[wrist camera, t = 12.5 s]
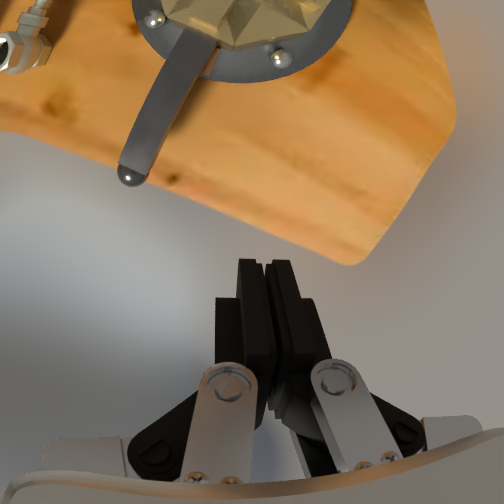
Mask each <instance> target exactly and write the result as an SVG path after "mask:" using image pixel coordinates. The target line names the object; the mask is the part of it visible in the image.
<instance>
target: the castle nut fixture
mask: <svg viewBox="0 0 504 504" xmlns="http://www.w3.org/2000/svg"><path fill="white" fill-rule="evenodd" d="M330 1H331V0H161V3H162V6H163V9H164V12H165V15H166V17H167V18H168V19H169V20H170V21H171V22H172V23H173V24H174V25H175V26H176V27H177V28H178V29H181V30H183V32H182V34H181V35H180V37H179V39H178V40H177V42H176V44H175V45H174V47H173V49H172V51H171V52H170V54H169V56H168V58H167V59H166V61H165V63H164V65H163V67H162V69H161V70H160V72H159V74H158V76H157V78H156V80H155V82H154V84H153V86H152V88H151V90H150V92H149V94H148V96H147V98H146V100H145V102H144V104H143V106H142V108H141V110H140V112H139V114H138V117H137V119H136V121H135V123H134V125H133V128H132V130H131V132H130V134H129V137H128V139H127V141H126V144H125V146H124V149H123V151H122V153H121V156H120V158H119V161H118V163H119V165H118V168H117V174H118V178H119V180H120V181H121V182H122V183H123V184H124V185H126V186H129V187H136V186H139V185H141V184H143V183H144V182H145V181H146V180H147V178H148V176H149V172H150V169H151V168H152V167H153V165H154V162H155V160H156V158H157V156H158V154H159V152H160V150H161V147H162V145H163V143H164V141H165V139H166V137H167V135H168V133H169V131H170V129H171V127H172V125H173V123H174V121H175V119H176V117H177V115H178V113H179V111H180V110H181V108H182V106H183V104H184V102H185V100H186V98H187V96H188V95H189V93H190V91H191V89H192V87H193V86H194V84H195V82H196V80H197V78H198V77H199V75H200V73H201V72H202V70H203V68H204V66H205V65H206V63H207V61H208V60H209V58H210V56H211V55H212V53H213V51H214V50H215V48H216V47H217V46H219V47H221V48H224V49H226V50H228V51H230V52H232V51H233V52H234V53H235V52H239V51H243V50H247V49H251V48H255V47H260V46H264V45H269V44H274V43H279V42H284V41H289V40H294V39H296V38H297V37H299V36H301V35H303V34H305V33H307V32H308V31H310V30H311V28H312V27H313V25H314V24H315V22H316V21H317V20H318V18H319V17H320V15H321V14H322V12H323V11H324V10H325V8H326V7H327V5H328V4H329V3H330Z"/></svg>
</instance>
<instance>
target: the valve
mask: <svg viewBox="0 0 504 504" xmlns="http://www.w3.org/2000/svg"><path fill="white" fill-rule="evenodd" d="M52 1H53V0H36V2H35V4H34V6H32V7H29V9H28V11H27V13H24V12H21V14H20V16H19V18H18V21H17V23H19V26H18V28H17V30H16V32H15V31H6V32H3V33H1V34H0V73H3V72H5V73H7V74H12V75H15V74H20V73H23V72H25V71H29V70H33V69H36V68H38V67H41V66H44V65H45V64H46V62H47V60H48V57H49V55H50V52H51V50H52V45H51V43H50V42H49V40H48V39H47V37H46V36H45V35H44V34H39V32H40V30H41V28H45V26H46V24H47V22H48V20H49V18H48V17H45V14H46V12H47V10H46V9H45V7H46V5H47V3H52Z"/></svg>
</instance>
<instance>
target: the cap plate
mask: <svg viewBox="0 0 504 504" xmlns="http://www.w3.org/2000/svg"><path fill="white" fill-rule="evenodd" d="M351 7H352V0H331V1H330V3H329V4H328V5H327V7H326V8H325V10H324V11H323V12H322V14H321V15H320V17H319V18H318V20H317V21H316V22H315V24H314V25H313V27H312V28H311V30H310V31H308V32H307V33H305V34H303V35H301V36H299V37H297V38H296V39H294V40H289V41H284V42H279V43H274V44H269V45H264V46H260V47H255V48H251V49H247V50H243V51H239V52H235V53H234V52H233V51H232V52H230V51H228V50H226V49H224V48H221V47H219V46H217V47H216V48H215V50H214V51H213V53H212V55H211V56H210V58H209V60H208V61H207V63H206V65H205V66H204V68H203V70H202V72H201V73H200V75H199V77H203V78H207V79H211V80H214V81H221V82H228V83H254V82H263V81H269V80H274V79H278V78H281V77H284V76H288V75H290V74H293V73H295V72H297V71H300V70H302V69H304V68H305V67H307V66H309V65H311V64H313V63H314V62H315V61H317V60H318V59H319V58H321V57H322V56H323V55H324V54H325V53H326V52H327V51H328V50H329V49H331V48H332V47H333V45H334V44H335V43H336V41H337V40H338V39H339V37H340V36H341V34H342V32H343V30H344V29H345V27H346V24H347V22H348V19H349V16H350V12H351ZM132 8H133V13H134V17H135V20H136V22H137V25H138V27H139V29H140V31H141V33H142V34H143V36H144V38H145V39H146V40H147V42H148V43H149V44H150V45H151V46H152V48H153V49H154V50H155V51H156V52H158V53H159V54H160V55H161V56H162V57H163V58H164V59H167V58H168V56H169V54H170V52H171V51H172V49H173V47H174V45H175V44H176V42H177V40H178V39H179V37H180V35H181V34H182V32H183V30H181V29H178V28H177V27H176V26H175V25H174V24H173V23H172V22H171V21H170V20H169V19H168V18H167V17H166V15H165V12H164V9H163V6H162V3H161V0H132Z"/></svg>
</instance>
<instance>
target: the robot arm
mask: <svg viewBox="0 0 504 504" xmlns="http://www.w3.org/2000/svg"><path fill="white" fill-rule="evenodd" d="M215 305H216V307H215V309H216V310H215V365H213V366H211V367H210V368H208V369H207V370H206V372H204V374H203V376H202V378H201V381H200V386H199V390H198V391H196V392H195V393H194V394H192V395H191V396H190V397H188V398H187V399H186V400H185V401H183V402H182V403H180V404H179V405H178V406H176V407H175V408H173V409H172V410H171V411H169V412H168V413H167V414H165V415H164V416H162V417H161V418H160V419H158V420H157V421H155V422H154V423H153V424H151V425H150V426H148V427H147V428H145V429H144V430H142V431H141V432H140V433H138V434H137V435H136V436H135V437H134V438H124V439H121V438H120V436H116V437H98V438H59V439H53V440H51V441H50V442H48V443H47V444H46V445H45V447H44V448H43V450H42V454H41V471H38V472H32V473H28V474H24V475H21V476H19V477H17V478H15V479H13V480H12V481H11V482H10V483H9V484H8V485H7V486H6V488H5V490H4V492H3V494H2V496H1V499H0V504H504V428H495V429H489V430H485V431H483V429H482V427H481V424H480V423H479V421H478V420H477V419H476V418H474V417H472V416H467V415H464V416H448V417H423V418H422V419H421V420H417V419H416V418H415V417H413V416H411V415H409V414H408V413H406V412H404V411H402V410H400V409H399V408H397V407H395V406H393V405H391V404H390V403H388V402H386V401H384V400H382V399H381V398H379V397H377V396H375V395H374V394H372V393H370V392H369V390H368V388H367V387H366V385H365V383H364V381H363V379H362V377H361V375H360V374H359V372H358V371H357V370H356V368H355V367H354V366H352V365H351V364H350V363H348V362H346V361H343V360H339V359H332V356H331V353H330V350H329V347H328V344H327V340H326V337H325V334H324V331H323V328H322V325H321V322H320V319H319V316H318V313H317V309H316V307H315V304H314V301H313V299H311V298H301V296H300V292H299V289H298V286H297V283H296V279H295V276H294V272H293V269H292V266H291V263H290V260H272V264H266V268H265V276H264V272H263V267H262V264H261V263H256V259H239V263H238V276H237V291H236V298H216V303H215ZM266 403H268V409H269V410H274V412H275V419H282V423H283V424H284V425H286V426H287V427H288V428H290V435H291V438H292V441H293V444H294V447H295V450H296V452H297V455H298V458H299V461H300V464H301V467H302V469H303V472H304V475H305V478H306V479H298V480H289V481H279V482H266V483H250V474H251V462H252V451H253V440H254V431H255V430H256V429H257V428H258V427H259V426H260V425H261V422H262V419H263V415H264V411H265V407H266Z"/></svg>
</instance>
